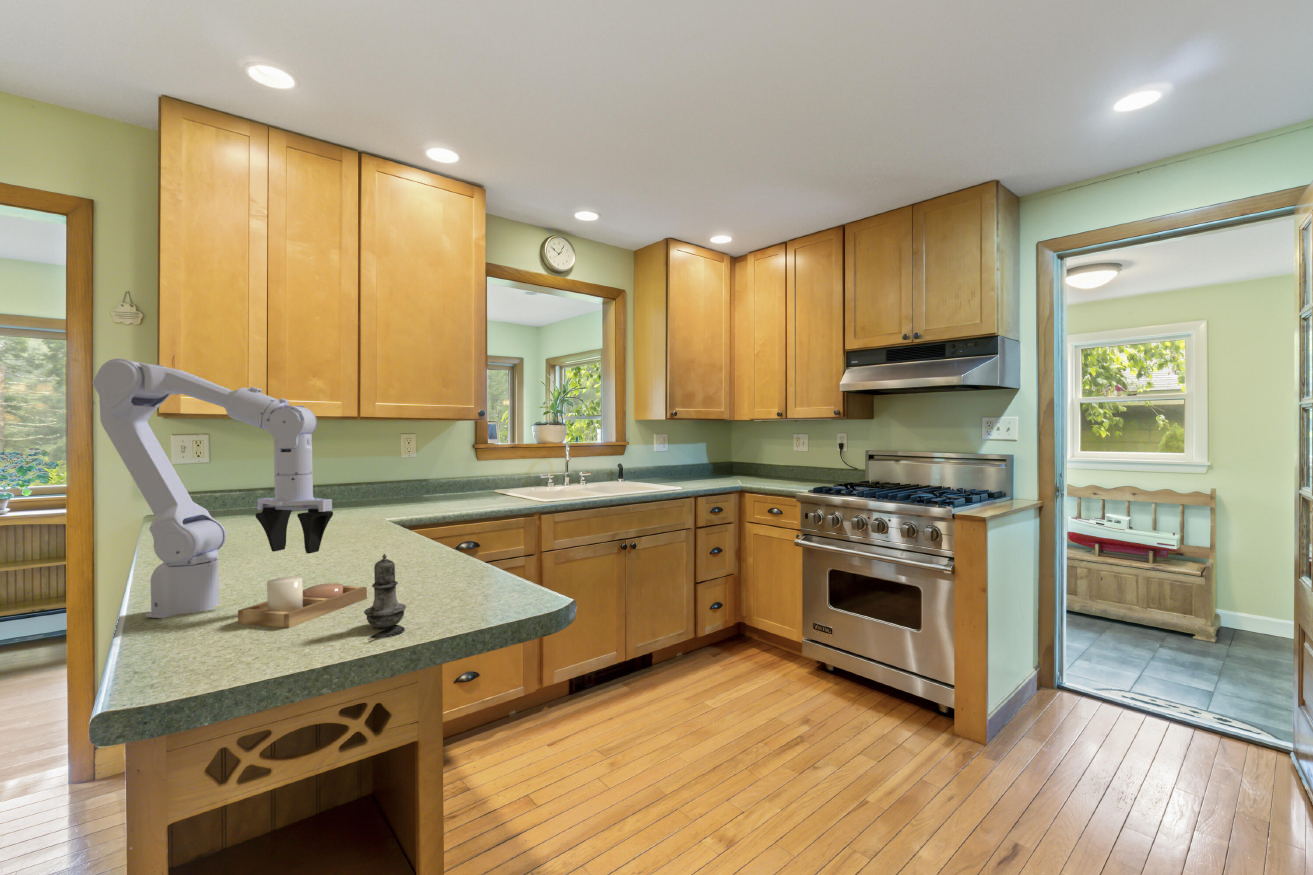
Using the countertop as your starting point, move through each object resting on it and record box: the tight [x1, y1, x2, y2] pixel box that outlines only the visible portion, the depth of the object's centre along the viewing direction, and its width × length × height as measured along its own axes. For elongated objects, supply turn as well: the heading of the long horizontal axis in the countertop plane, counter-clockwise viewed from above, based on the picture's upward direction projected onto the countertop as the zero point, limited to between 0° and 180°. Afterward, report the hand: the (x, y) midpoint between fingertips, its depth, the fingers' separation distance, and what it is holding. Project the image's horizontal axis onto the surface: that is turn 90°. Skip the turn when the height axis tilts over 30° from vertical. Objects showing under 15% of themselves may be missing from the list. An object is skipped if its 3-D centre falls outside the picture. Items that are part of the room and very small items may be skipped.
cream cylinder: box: [266, 575, 304, 612], centre depth 94 cm, size 5×5×6 cm
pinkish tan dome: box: [305, 582, 344, 599], centre depth 102 cm, size 6×6×3 cm
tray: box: [237, 585, 368, 629], centre depth 98 cm, size 10×16×3 cm, turn 165°
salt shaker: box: [363, 553, 407, 639], centre depth 90 cm, size 6×6×12 cm
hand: (295, 551), depth 103 cm, fingers open, 7 cm apart
